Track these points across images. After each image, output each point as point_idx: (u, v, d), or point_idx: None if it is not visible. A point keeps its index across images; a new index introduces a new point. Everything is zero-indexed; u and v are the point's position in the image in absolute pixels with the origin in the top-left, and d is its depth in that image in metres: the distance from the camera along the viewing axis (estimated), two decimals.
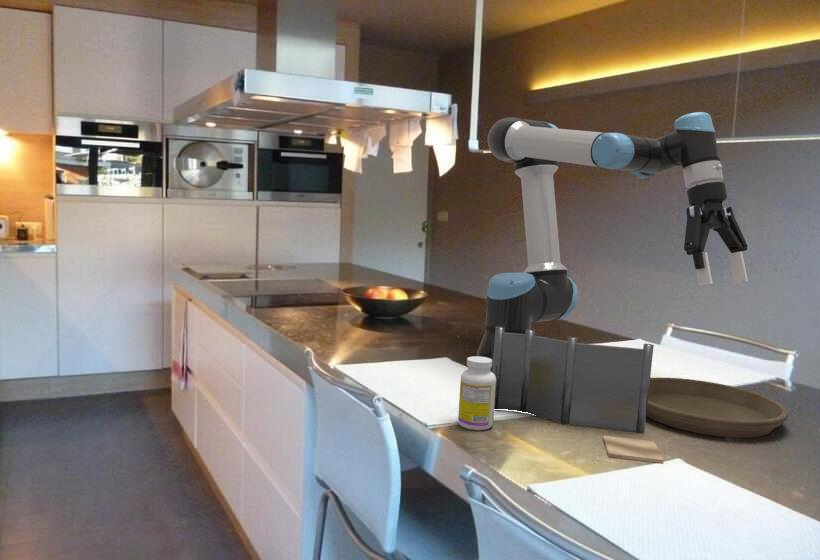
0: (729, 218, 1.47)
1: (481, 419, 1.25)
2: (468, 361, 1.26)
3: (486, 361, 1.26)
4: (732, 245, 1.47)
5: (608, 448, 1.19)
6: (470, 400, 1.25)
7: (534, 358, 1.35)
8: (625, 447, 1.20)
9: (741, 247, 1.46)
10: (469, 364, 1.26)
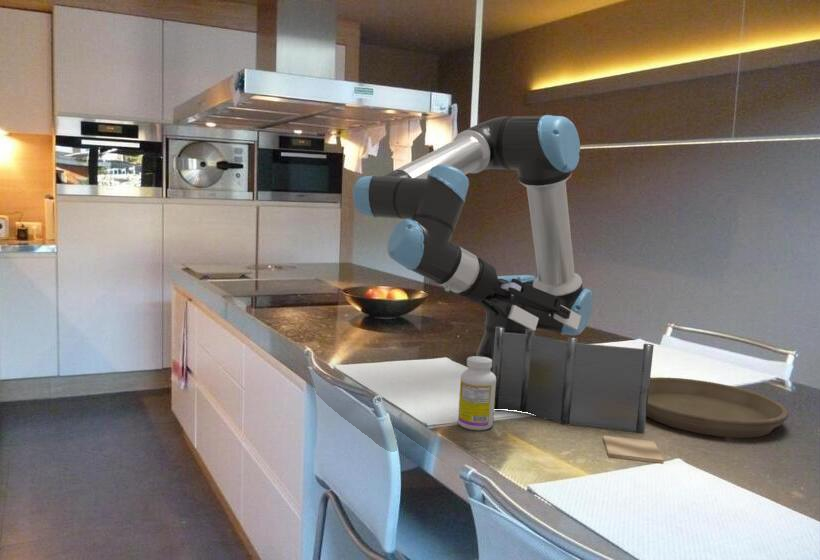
0: None
1: (481, 419, 1.25)
2: (468, 361, 1.26)
3: (486, 361, 1.26)
4: None
5: (608, 448, 1.19)
6: (470, 400, 1.25)
7: (534, 358, 1.35)
8: (625, 447, 1.20)
9: (549, 312, 1.21)
10: (469, 364, 1.26)
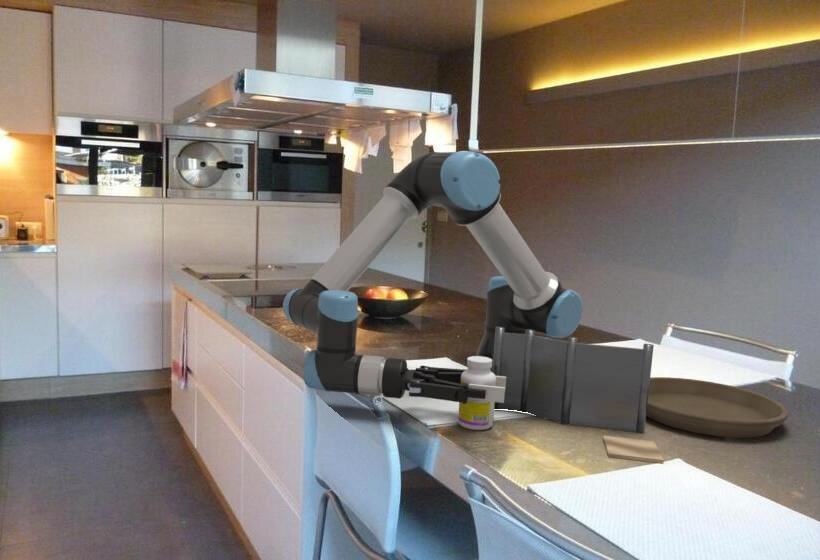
0: None
1: (481, 418, 1.25)
2: (468, 361, 1.26)
3: (486, 361, 1.26)
4: None
5: (608, 448, 1.19)
6: (470, 399, 1.25)
7: (534, 358, 1.35)
8: (625, 447, 1.20)
9: None
10: (469, 364, 1.26)
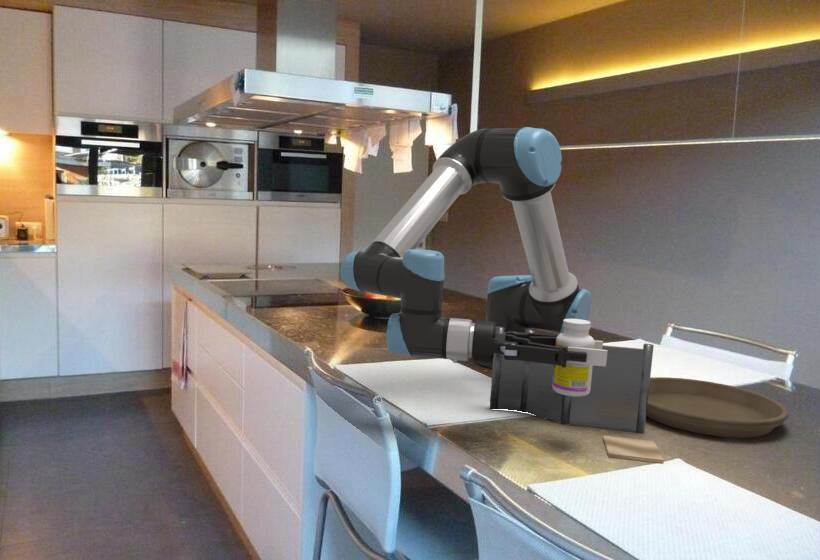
0: None
1: (580, 384, 1.17)
2: (565, 323, 1.18)
3: (585, 322, 1.18)
4: None
5: (608, 448, 1.19)
6: (568, 363, 1.17)
7: None
8: (625, 447, 1.20)
9: None
10: (566, 326, 1.18)
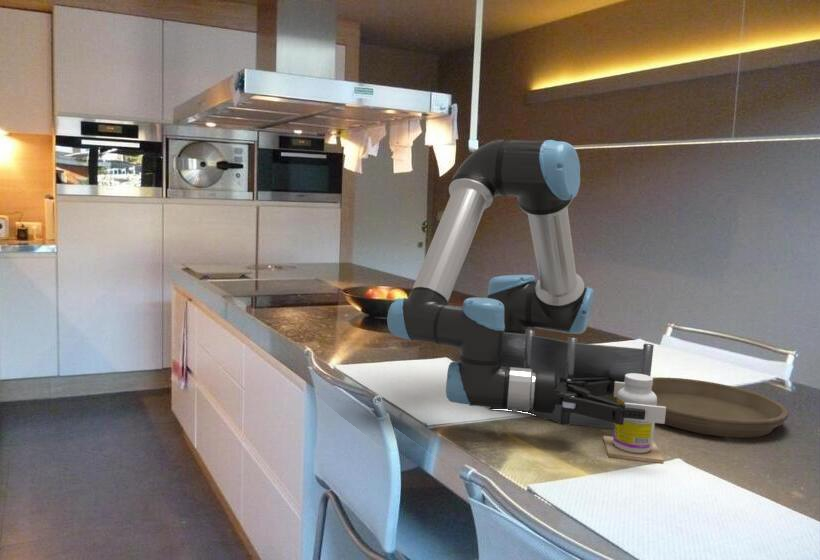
0: None
1: (643, 441, 1.17)
2: (628, 379, 1.18)
3: (648, 379, 1.17)
4: None
5: (608, 448, 1.19)
6: (631, 420, 1.17)
7: (534, 358, 1.35)
8: None
9: None
10: (629, 382, 1.17)
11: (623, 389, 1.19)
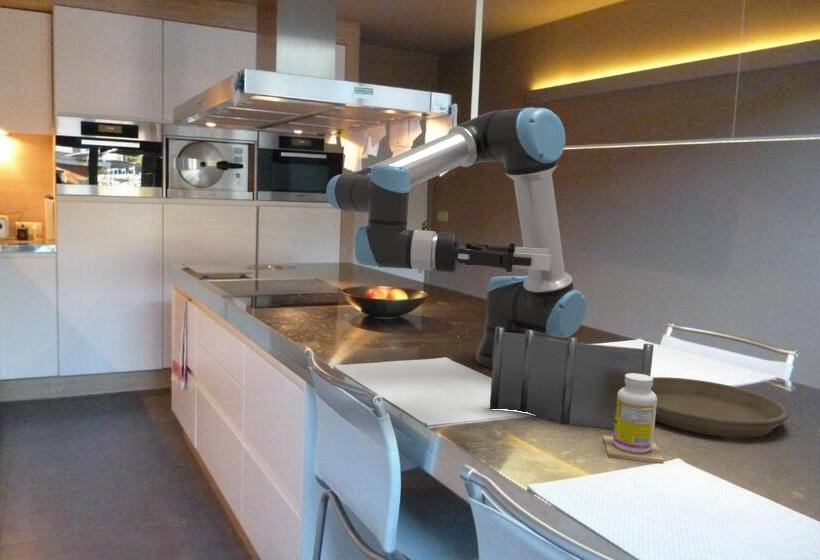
0: None
1: (643, 441, 1.17)
2: (628, 379, 1.18)
3: (648, 379, 1.17)
4: None
5: (608, 448, 1.19)
6: (631, 420, 1.17)
7: (534, 358, 1.35)
8: None
9: None
10: (629, 382, 1.17)
11: (623, 389, 1.19)
